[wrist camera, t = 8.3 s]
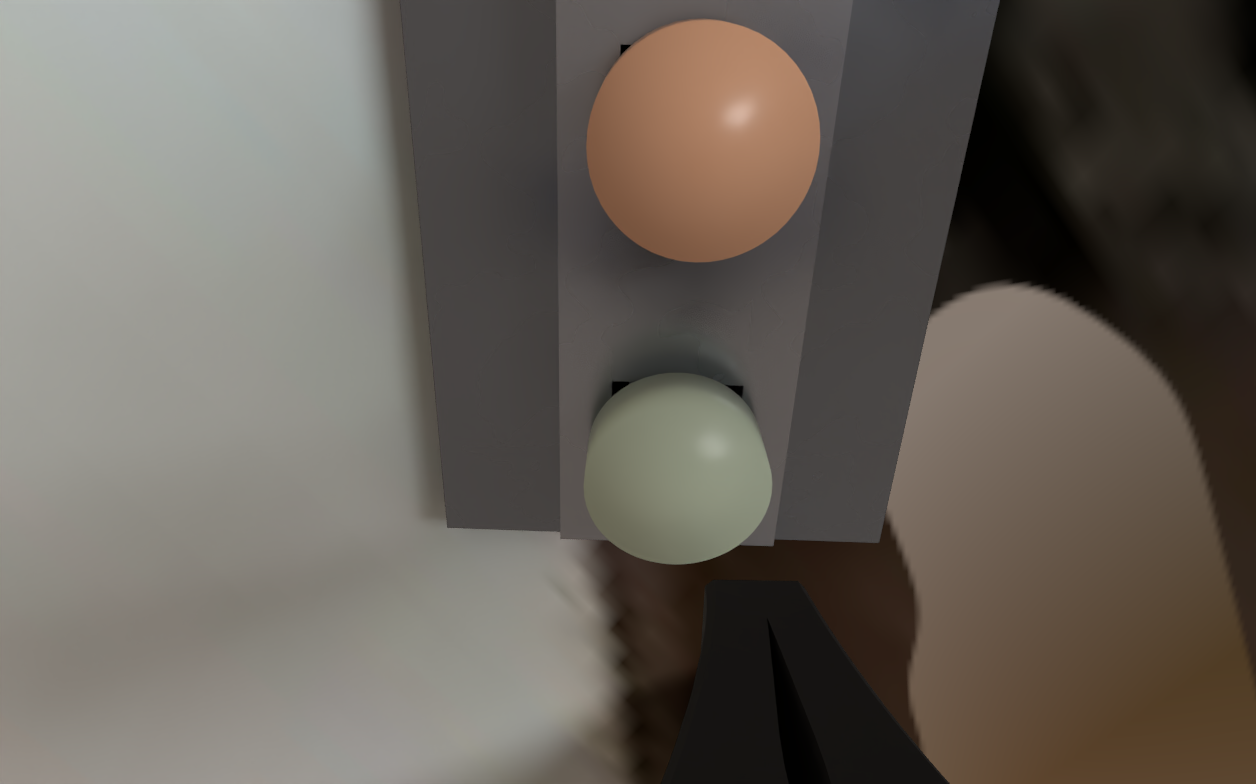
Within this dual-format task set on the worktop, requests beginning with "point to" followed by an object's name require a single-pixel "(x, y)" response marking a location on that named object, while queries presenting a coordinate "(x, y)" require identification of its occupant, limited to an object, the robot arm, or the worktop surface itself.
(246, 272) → the worktop surface
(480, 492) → the switch panel
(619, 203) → the terracotta knob
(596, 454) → the sage knob
